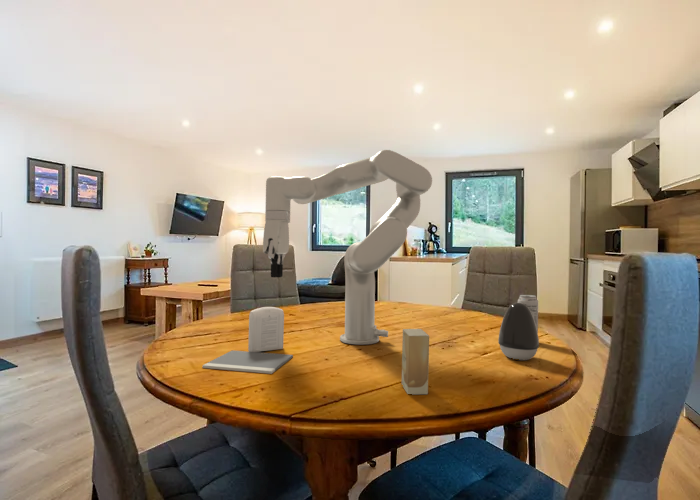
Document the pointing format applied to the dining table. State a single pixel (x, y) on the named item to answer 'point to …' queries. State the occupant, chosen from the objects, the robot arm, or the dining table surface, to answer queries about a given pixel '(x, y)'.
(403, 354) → the skincare box
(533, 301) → the energy drink can
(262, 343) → the photo printer
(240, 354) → the mat
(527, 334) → the grey egg shaped device
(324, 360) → the dining table surface
